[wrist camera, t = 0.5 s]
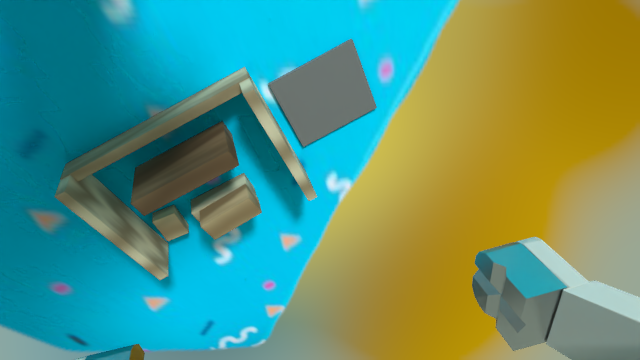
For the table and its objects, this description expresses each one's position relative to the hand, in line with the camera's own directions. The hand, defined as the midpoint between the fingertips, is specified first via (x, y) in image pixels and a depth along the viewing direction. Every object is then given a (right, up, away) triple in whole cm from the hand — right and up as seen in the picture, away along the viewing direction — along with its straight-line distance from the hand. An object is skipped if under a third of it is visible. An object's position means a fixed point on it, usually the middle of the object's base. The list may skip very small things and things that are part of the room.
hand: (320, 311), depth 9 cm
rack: (-15, +5, +41) cm, 44 cm away
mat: (+1, +14, +40) cm, 42 cm away
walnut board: (-17, +7, +39) cm, 43 cm away
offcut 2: (-13, +1, +44) cm, 46 cm away
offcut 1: (-20, -2, +44) cm, 49 cm away
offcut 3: (-12, 0, +42) cm, 44 cm away
